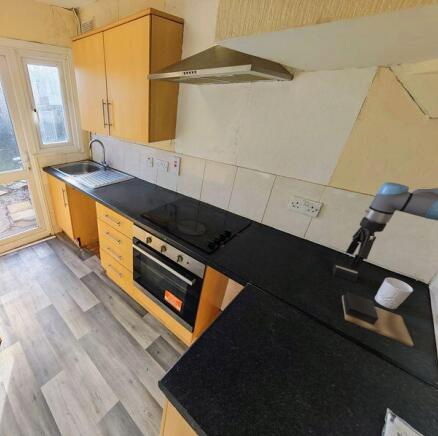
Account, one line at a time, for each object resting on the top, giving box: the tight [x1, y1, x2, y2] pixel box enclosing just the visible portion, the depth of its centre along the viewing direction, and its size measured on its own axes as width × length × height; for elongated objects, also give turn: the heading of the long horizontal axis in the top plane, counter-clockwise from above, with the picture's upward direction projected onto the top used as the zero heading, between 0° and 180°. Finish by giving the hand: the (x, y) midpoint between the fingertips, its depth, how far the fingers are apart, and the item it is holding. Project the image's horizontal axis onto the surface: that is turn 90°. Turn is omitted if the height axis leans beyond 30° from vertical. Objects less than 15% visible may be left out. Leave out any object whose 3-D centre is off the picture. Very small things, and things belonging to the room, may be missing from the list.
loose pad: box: [332, 262, 359, 283], centre depth 106 cm, size 8×6×4 cm
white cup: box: [374, 277, 414, 310], centre depth 90 cm, size 8×8×10 cm
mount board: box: [341, 291, 415, 347], centre depth 84 cm, size 18×14×4 cm
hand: (350, 260), depth 103 cm, fingers open, 13 cm apart
